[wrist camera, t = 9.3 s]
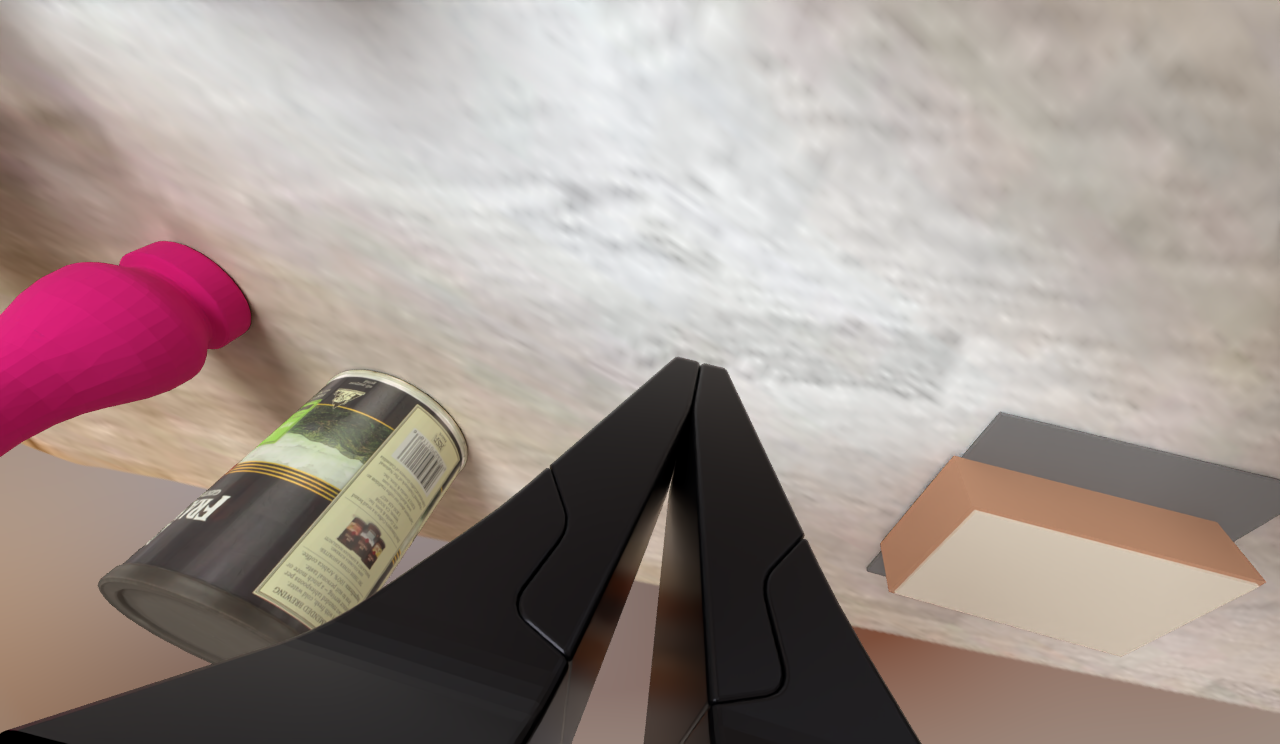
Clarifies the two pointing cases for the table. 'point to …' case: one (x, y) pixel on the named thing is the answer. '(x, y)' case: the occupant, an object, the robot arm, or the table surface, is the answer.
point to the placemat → (1126, 474)
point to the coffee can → (296, 522)
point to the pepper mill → (111, 335)
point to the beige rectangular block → (1061, 558)
